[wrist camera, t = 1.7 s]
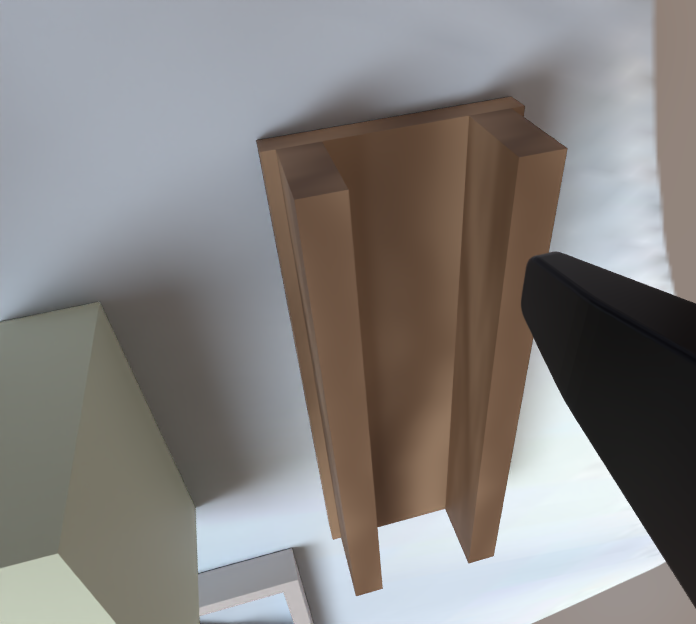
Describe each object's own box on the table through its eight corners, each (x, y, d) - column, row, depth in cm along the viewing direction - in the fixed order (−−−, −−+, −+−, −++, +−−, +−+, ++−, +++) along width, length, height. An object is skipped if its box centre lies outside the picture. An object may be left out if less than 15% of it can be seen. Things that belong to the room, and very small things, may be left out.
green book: (128, 524, 29) (112, 756, 21) (0, 320, 20) (-104, 595, 13) (195, 506, 30) (203, 728, 22) (99, 300, 21) (57, 553, 13)
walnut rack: (329, 524, 34) (347, 598, 30) (256, 140, 18) (275, 203, 15) (469, 486, 35) (501, 553, 31) (511, 96, 19) (583, 145, 16)
